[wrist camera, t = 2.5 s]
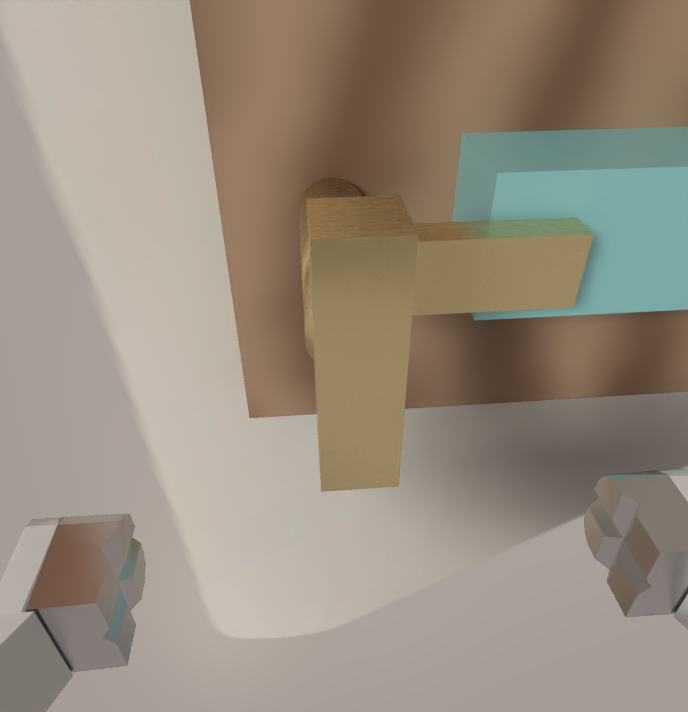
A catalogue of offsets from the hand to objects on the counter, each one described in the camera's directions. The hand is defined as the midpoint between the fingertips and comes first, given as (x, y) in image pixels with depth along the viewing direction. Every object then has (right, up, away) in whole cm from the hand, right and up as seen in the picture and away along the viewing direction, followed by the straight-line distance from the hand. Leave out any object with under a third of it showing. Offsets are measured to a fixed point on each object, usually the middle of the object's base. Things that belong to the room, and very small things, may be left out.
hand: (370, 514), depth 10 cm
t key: (+2, +8, +11) cm, 13 cm away
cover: (+10, +9, +11) cm, 17 cm away
